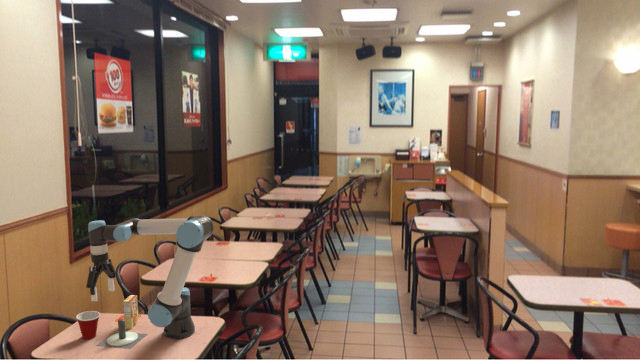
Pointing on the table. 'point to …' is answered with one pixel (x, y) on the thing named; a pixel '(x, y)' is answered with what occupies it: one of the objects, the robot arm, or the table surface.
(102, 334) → the table surface
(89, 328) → the plastic cup
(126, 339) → the lid
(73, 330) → the table surface
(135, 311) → the candy box
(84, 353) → the table surface
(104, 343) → the mat
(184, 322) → the robot arm
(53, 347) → the table surface
